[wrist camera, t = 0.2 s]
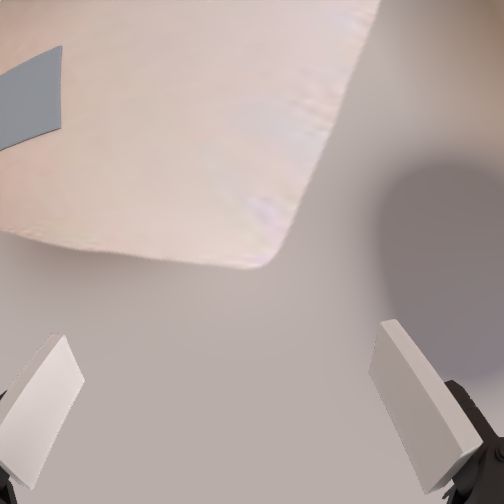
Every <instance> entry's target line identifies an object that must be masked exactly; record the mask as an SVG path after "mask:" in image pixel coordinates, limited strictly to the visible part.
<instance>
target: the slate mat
mask: <svg viewBox="0 0 504 504" xmlns="http://www.w3.org/2000/svg"><path fill="white" fill-rule="evenodd" d="M61 56H62V46H58V47H56V48H53V49H51V50H49V51H47V52H44V53H42V54H40V55H38V56H36V57H34V58H32V59H30V60H28V61H26V62H24V63H22V64H20V65H18V66H16V67H15V68H13V69H11V70H9V71H7V72H6V73H4V74H2V75H1V76H0V150H3V149H5V148H7V147H10V146H12V145H15V144H17V143H20V142H23V141H25V140H28V139H31V138H33V137H36V136H39V135H42V134H45V133H48V132H51V131H54V130H57V129H60V128H61V113H60V77H61Z"/></svg>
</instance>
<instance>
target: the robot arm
mask: <svg viewBox="0 0 504 504" xmlns="http://www.w3.org/2000/svg"><path fill="white" fill-rule="evenodd" d="M369 374H370V376H371V378H372V380H373V382H374V384H375V386H376V388H377V390H378V393H379V395H380V397H381V398H382V401H383V403H384V405H385V407H386V409H387V411H388V413H389V415H390V417H391V419H392V422H393V424H394V426H395V428H396V430H397V432H398V434H399V437H400V438H401V441H402V443H403V445H404V447H405V449H406V452H407V454H408V456H409V459H410V461H411V463H412V465H413V468H414V470H415V472H416V475H417V477H418V479H419V481H420V484H421V486H422V489H423V491H424V493H425V495H426V494H429V493H431V492H434V491H436V490H438V489H440V488H442V487H444V486H445V485H446V484H447V483H448V482H449V481H450V480H451V479H452V480H453V482H454V485H453V486H452V487H451V488H450V489H449V490H448V491H447V492H446V493H445V494H444V496H443V497H442V499H445V498H446V497H447V496H448V495H449V498H448V501H447V504H504V437H498V436H497V435H496V433H495V432H494V431H493V429H492V428H491V426H490V425H489V423H488V422H487V420H486V419H485V417H484V416H483V414H482V413H481V412H480V410H479V409H478V407H476V405H475V403H474V402H473V400H472V399H470V396H469V395H468V393H467V392H466V391H465V389H464V388H463V387H462V386H460V385H459V384H457V383H456V382H455V381H453V380H450V381H447V382H443V381H442V380H441V378H440V377H439V376H438V374H437V373H436V371H435V370H434V369H433V367H432V366H431V364H430V363H429V362H428V361H427V359H426V358H425V356H424V355H423V354H422V352H421V351H420V350H419V348H418V347H417V346H416V344H415V343H414V342H413V341H412V339H411V338H410V337H409V335H408V334H407V333H406V332H405V330H404V329H403V328H402V326H401V325H400V324H399V323H398V321H397V320H396V319H395V320H388V321H382V322H380V323H379V328H378V333H377V337H376V342H375V347H374V352H373V356H372V361H371V364H370V369H369ZM84 381H85V380H84V378H83V376H82V374H81V372H80V369H79V367H78V365H77V364H76V361H75V359H74V356H73V354H72V352H71V349H70V347H69V345H68V342H67V340H66V337H65V335H64V334H58V333H52V334H50V336H49V337H48V338H47V339H46V341H45V342H44V343H43V344H42V346H41V347H40V348H39V349H38V351H37V352H36V353H35V354H34V356H33V357H32V358H31V359H30V361H29V362H28V363H27V365H26V366H25V367H24V369H23V370H22V371H21V373H20V374H19V375H18V377H17V378H16V379H15V381H14V382H13V383H12V385H11V386H10V388H9V389H8V390H6V391H5V392H4V393H3V394H1V395H0V504H17V501H16V497H15V493H14V490H13V486H12V484H11V482H10V481H9V480H8V479H9V477H10V476H11V477H12V478H13V479H14V480H15V481H16V482H17V483H18V484H20V485H22V486H24V487H26V488H28V489H31V490H33V488H34V486H35V483H36V481H37V479H38V476H39V474H40V472H41V469H42V467H43V465H44V462H45V460H46V458H47V456H48V453H49V451H50V449H51V447H52V445H53V443H54V440H55V438H56V436H57V434H58V432H59V430H60V428H61V426H62V424H63V422H64V420H65V418H66V416H67V414H68V412H69V410H70V408H71V406H72V404H73V402H74V400H75V398H76V396H77V395H78V393H79V391H80V389H81V387H82V385H83V383H84Z"/></svg>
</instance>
